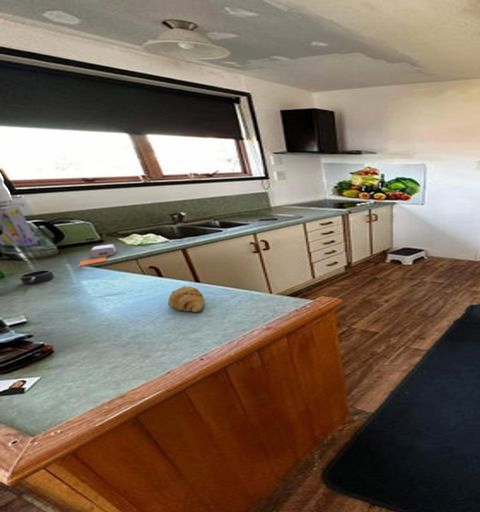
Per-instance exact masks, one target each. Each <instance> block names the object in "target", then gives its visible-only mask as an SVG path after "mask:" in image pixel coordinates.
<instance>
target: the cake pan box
mask: <svg viewBox="0 0 480 512" xmlns="http://www.w3.org/2000/svg"><path fill="white" fill-rule="evenodd" d="M0 226H2V227H3V229H2V230H0V245H2V246H13V247H15V246H16V247H29V246H34V245H38V241H37V239H36V237H35V235H34V233H33V231H32V229H31V227H30V226H29V224H28V222H27V220H26V218H25V216H23V214H22V212H21V210H20V208H19V207H11V206H4V207H0Z"/></svg>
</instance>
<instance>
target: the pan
mask: <svg viewBox="0 0 480 512" xmlns="http://www.w3.org/2000/svg"><path fill="white" fill-rule="evenodd" d="M32 277H36V279H35V280H34V282H33V283H29V281H30V279H31V278H32ZM54 278H55V276H54V273H53V272H52V270H50V269H42V270H36V271H31V272H28V273H24V274H22V275H20V276H19V279H20V281H21V284H23V285H26V284H27V285H36V283H37V284H41V283H44V282H48V281H50V280H53V279H54Z"/></svg>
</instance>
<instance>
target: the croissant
mask: <svg viewBox="0 0 480 512" xmlns="http://www.w3.org/2000/svg"><path fill="white" fill-rule="evenodd" d="M167 306H169V308H171V309H173V310H176V311H180V310H182V311H183V310H184V311H183V312H192V313H198V312H200V311H201V310H203V308H204V307H205V299H204V296H203V294H202V292H201V291H200V290H199V289H198V288H196V287H194V286H182V287H180V288H178V289H176V290H172V292H171V294H170V296H169V297H168V301H167Z"/></svg>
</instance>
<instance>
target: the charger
mask: <svg viewBox="0 0 480 512" xmlns="http://www.w3.org/2000/svg"><path fill="white" fill-rule="evenodd" d="M116 251H117V248H116V246H115V244H113V243H111V244H101V245H97V246H93V247H92V248H91V250H90V254H91V257H92V258H93V259H96V258H101V257H108V256H109V255H110V256H114V255H115V254H116Z"/></svg>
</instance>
